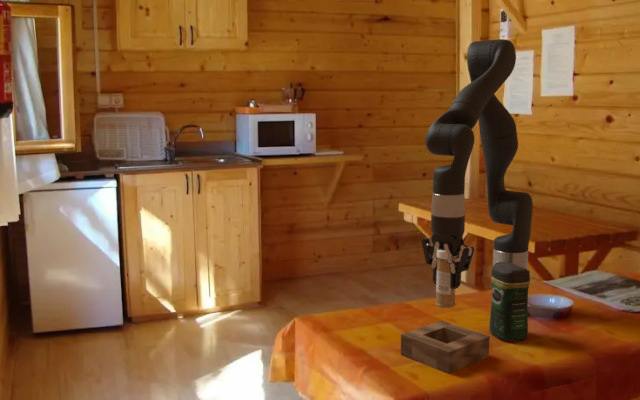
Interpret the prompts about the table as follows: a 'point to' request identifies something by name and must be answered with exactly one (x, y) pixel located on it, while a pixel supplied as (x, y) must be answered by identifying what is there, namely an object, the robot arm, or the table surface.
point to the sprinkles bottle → (444, 281)
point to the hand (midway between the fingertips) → (446, 285)
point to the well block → (445, 346)
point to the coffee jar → (509, 301)
